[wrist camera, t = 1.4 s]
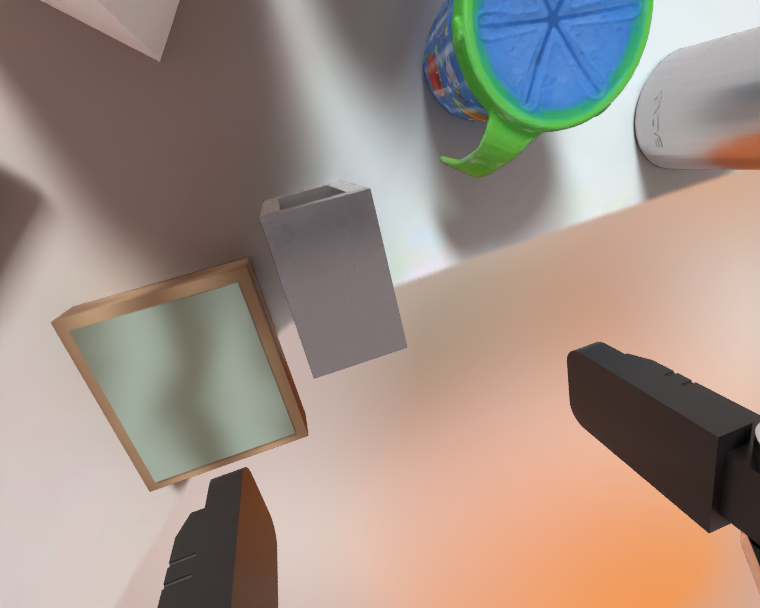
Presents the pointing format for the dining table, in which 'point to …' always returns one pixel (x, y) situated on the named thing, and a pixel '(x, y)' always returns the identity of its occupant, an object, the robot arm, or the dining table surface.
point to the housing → (334, 274)
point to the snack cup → (530, 67)
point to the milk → (126, 20)
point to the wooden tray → (187, 372)
